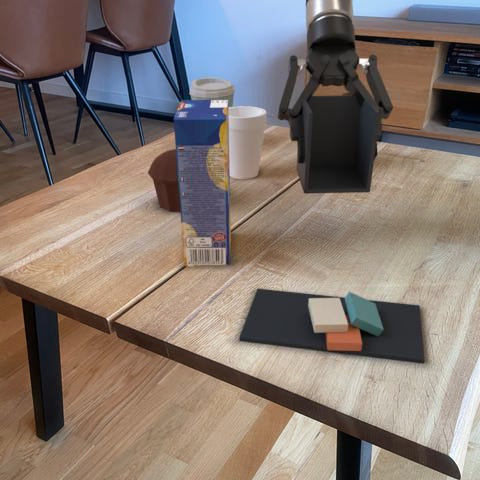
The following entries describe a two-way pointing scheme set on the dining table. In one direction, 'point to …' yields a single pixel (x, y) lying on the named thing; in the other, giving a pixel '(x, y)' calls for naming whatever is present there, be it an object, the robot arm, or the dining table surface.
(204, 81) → the disposable coffee cup
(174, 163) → the muffin
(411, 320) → the mat
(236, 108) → the foam cup
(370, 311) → the block
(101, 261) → the dining table surface
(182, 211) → the beverage box
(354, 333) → the block
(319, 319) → the block
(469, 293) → the dining table surface
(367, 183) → the basket
